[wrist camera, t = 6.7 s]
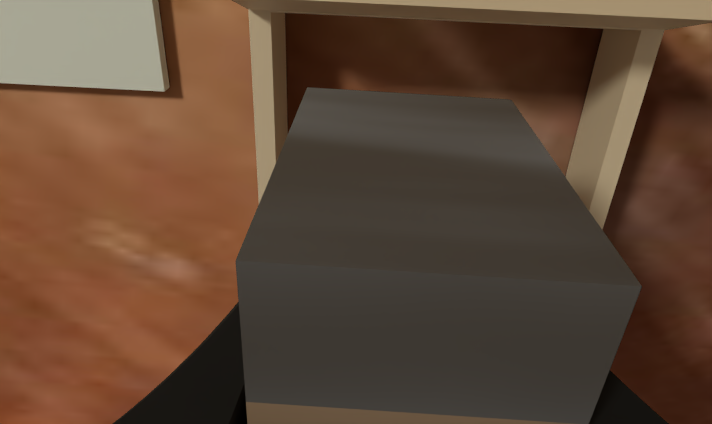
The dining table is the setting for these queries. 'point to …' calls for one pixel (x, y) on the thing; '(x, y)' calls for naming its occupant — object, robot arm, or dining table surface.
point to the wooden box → (505, 6)
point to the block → (424, 271)
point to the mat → (83, 44)
